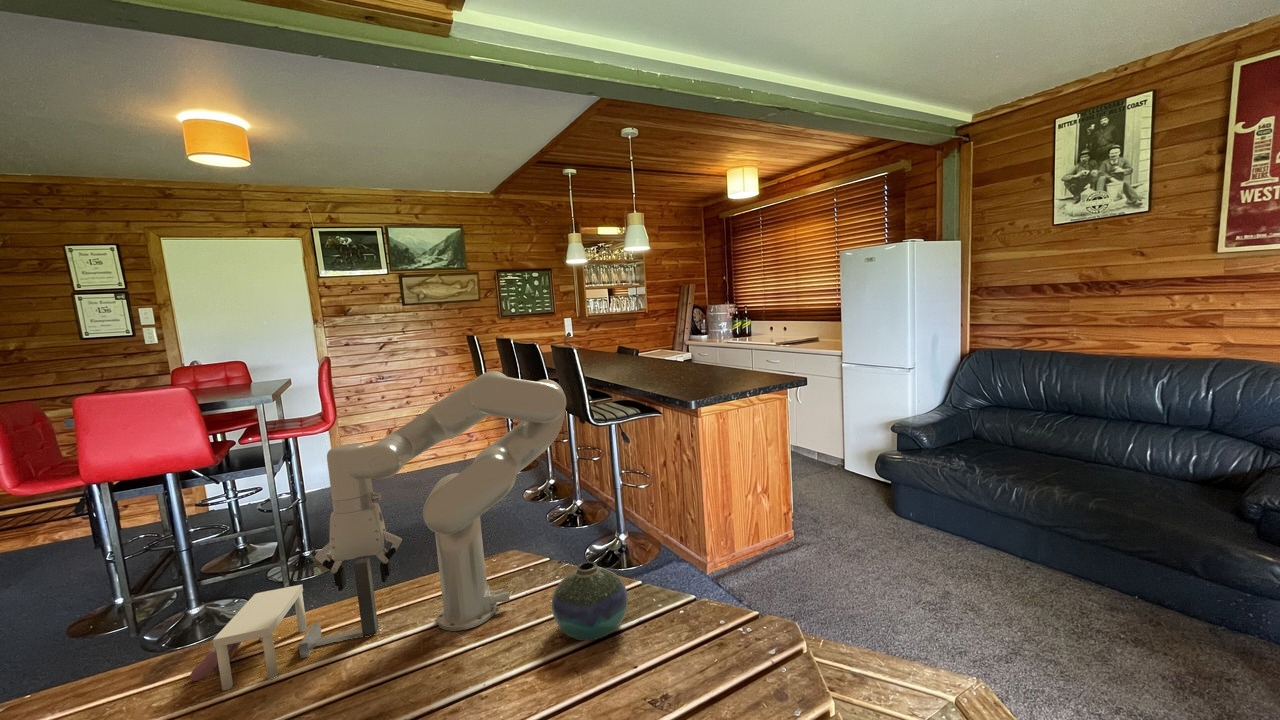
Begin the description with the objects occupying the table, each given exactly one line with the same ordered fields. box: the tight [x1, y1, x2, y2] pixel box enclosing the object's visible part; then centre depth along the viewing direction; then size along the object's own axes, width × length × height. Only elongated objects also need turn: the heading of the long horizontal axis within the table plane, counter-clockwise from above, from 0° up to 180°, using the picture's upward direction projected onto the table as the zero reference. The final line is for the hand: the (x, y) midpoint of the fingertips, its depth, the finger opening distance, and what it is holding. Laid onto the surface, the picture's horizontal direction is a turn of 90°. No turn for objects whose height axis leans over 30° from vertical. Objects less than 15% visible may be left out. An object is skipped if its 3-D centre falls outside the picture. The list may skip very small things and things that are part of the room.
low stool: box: [212, 584, 308, 692], centre depth 105 cm, size 9×18×10 cm, turn 16°
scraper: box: [298, 557, 379, 659], centre depth 109 cm, size 13×8×16 cm, turn 106°
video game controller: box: [189, 642, 242, 682], centre depth 104 cm, size 10×5×7 cm, turn 10°
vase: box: [551, 561, 629, 641], centre depth 105 cm, size 15×15×13 cm
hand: (364, 583), depth 110 cm, fingers open, 7 cm apart
